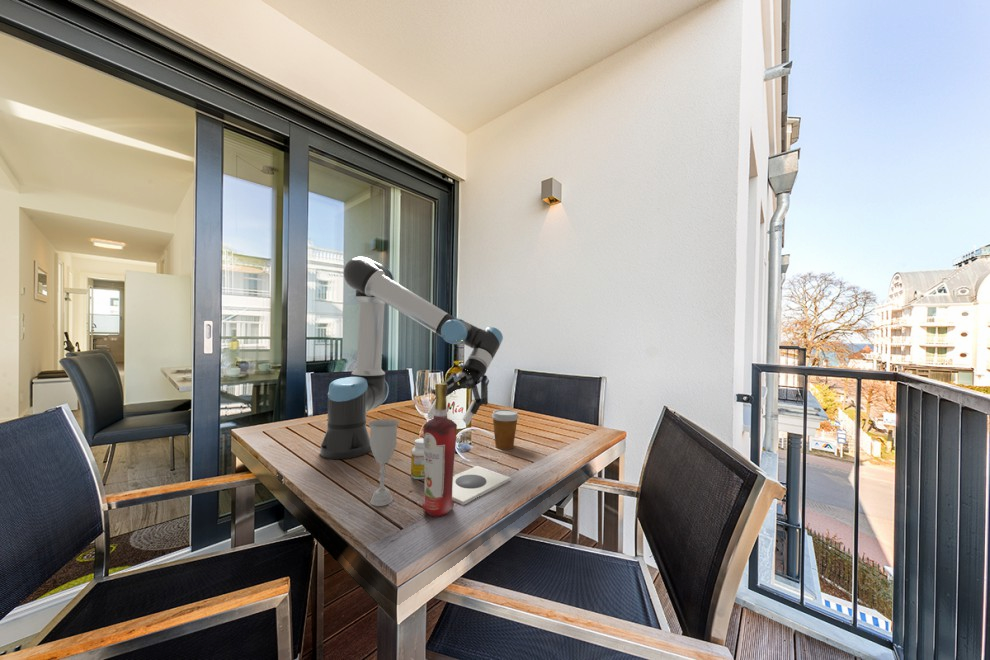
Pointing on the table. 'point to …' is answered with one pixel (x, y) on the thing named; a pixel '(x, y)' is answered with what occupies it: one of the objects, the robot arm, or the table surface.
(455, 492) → the cream rectangular slab
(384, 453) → the chalice
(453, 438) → the liquor
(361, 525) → the table surface
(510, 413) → the disposable coffee cup
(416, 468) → the supplement bottle
